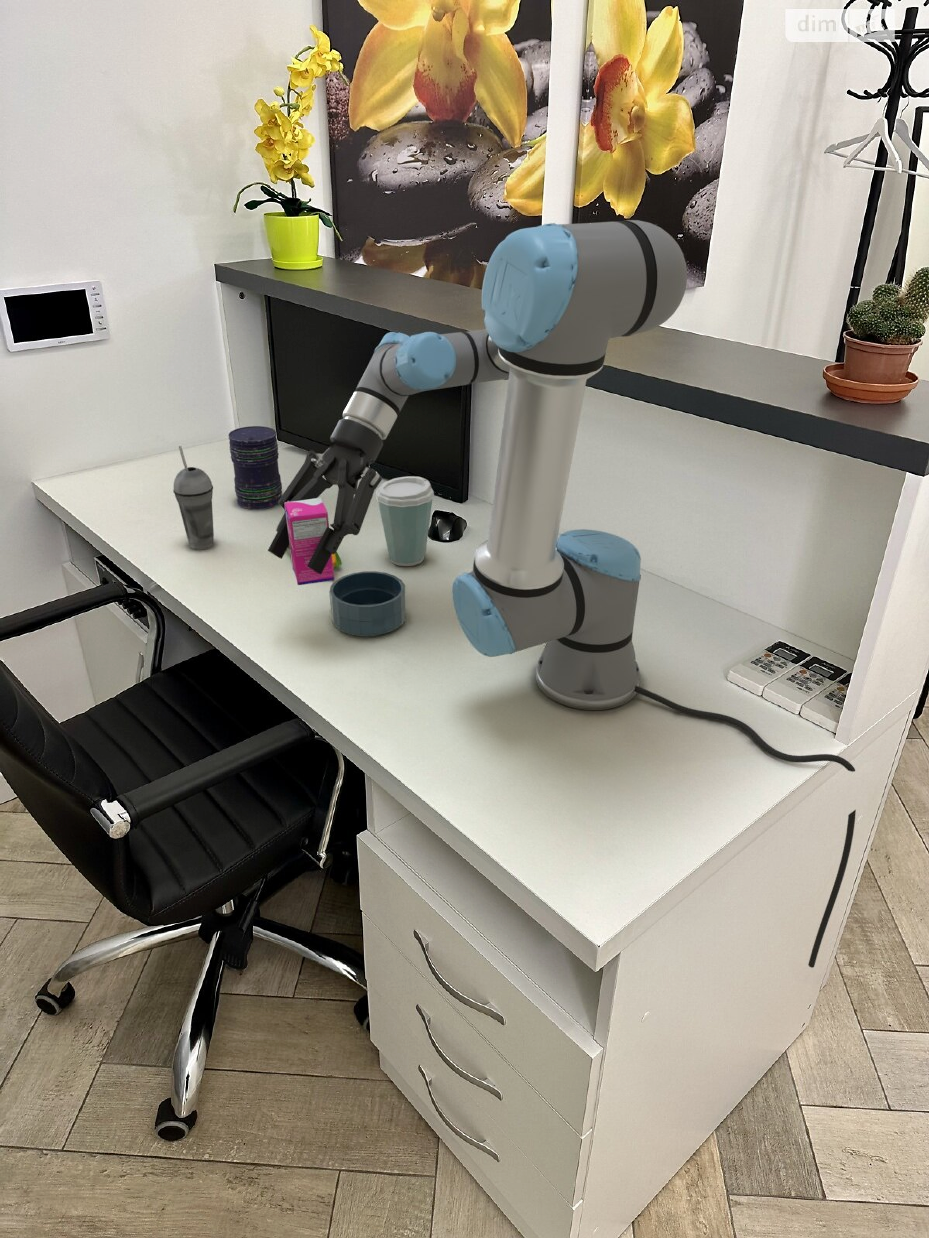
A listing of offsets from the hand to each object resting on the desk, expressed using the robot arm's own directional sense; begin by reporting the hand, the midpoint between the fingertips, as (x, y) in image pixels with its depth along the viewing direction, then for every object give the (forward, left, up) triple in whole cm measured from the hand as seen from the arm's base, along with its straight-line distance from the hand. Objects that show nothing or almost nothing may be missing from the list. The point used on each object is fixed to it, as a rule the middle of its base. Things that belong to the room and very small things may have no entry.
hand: (294, 562), depth 132 cm
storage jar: (+58, -22, -15) cm, 64 cm away
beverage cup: (+45, -3, -15) cm, 48 cm away
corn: (+26, -17, -15) cm, 35 cm away
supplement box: (+1, -3, -4) cm, 5 cm away
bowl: (+1, -13, -15) cm, 20 cm away
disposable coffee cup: (+16, -31, -15) cm, 38 cm away
